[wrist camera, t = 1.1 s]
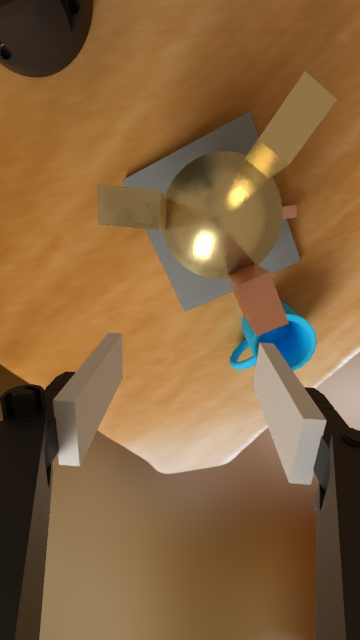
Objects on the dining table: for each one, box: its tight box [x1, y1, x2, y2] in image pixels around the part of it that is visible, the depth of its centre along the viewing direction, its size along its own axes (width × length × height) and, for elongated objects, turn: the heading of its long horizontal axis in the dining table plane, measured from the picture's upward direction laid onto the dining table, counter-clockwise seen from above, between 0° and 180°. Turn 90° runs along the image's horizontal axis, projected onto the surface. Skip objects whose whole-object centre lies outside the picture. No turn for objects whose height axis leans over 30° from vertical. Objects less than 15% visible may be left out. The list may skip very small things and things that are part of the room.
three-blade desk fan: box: [98, 71, 337, 336], centre depth 28 cm, size 17×20×9 cm
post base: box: [122, 111, 301, 311], centre depth 36 cm, size 20×20×9 cm
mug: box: [230, 301, 317, 371], centre depth 41 cm, size 12×8×8 cm
